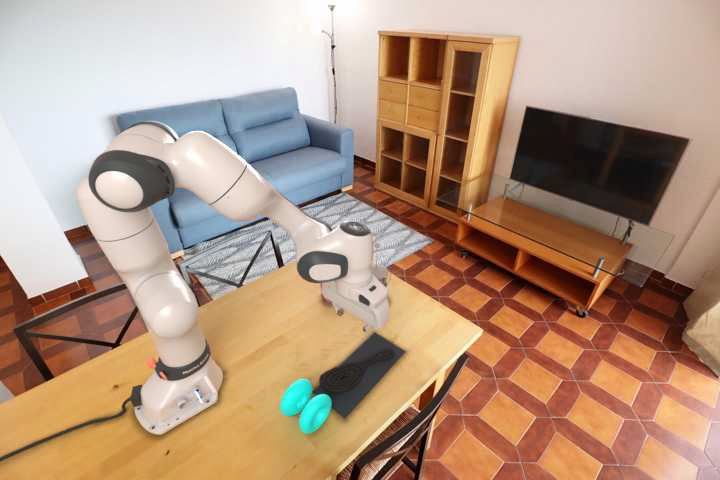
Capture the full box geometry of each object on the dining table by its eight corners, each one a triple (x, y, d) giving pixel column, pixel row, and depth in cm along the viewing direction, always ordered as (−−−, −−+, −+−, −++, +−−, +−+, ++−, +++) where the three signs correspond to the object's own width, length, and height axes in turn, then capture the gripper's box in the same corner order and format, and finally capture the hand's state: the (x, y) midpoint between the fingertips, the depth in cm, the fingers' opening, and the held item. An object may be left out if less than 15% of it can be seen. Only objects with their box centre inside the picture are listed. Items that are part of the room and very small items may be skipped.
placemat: (344, 418, 95) (344, 418, 95) (312, 392, 101) (312, 391, 101) (405, 352, 113) (405, 351, 113) (374, 333, 120) (374, 332, 119)
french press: (355, 300, 133) (355, 242, 119) (378, 286, 139) (381, 230, 125) (374, 314, 126) (376, 255, 113) (397, 299, 133) (402, 242, 119)
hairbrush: (403, 356, 108) (327, 393, 96) (401, 364, 110) (327, 402, 98) (386, 337, 114) (313, 370, 102) (385, 346, 116) (313, 379, 104)
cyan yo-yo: (308, 392, 101) (305, 369, 96) (334, 414, 96) (333, 390, 91) (279, 419, 95) (275, 395, 90) (306, 443, 90) (303, 420, 84)
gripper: (315, 270, 94) (317, 310, 102) (378, 307, 83) (375, 348, 91) (331, 260, 98) (332, 299, 106) (394, 293, 88) (390, 334, 95)
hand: (353, 322), depth 98 cm, fingers open, 8 cm apart
